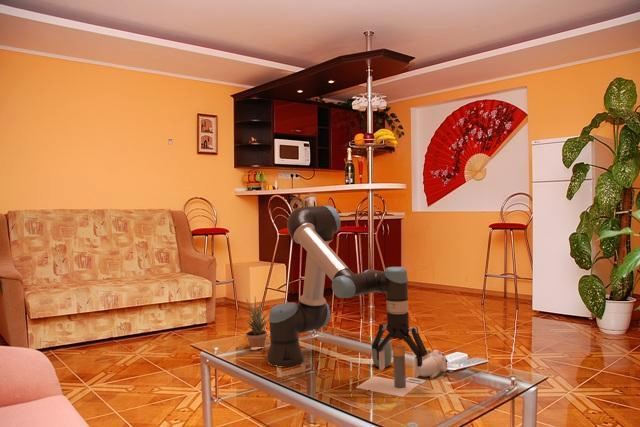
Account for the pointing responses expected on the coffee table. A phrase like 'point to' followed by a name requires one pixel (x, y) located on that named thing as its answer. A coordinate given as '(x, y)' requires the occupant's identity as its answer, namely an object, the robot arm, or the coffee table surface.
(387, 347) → the cup
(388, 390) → the paper
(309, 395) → the coffee table surface
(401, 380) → the marker
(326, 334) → the coffee table surface
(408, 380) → the plate
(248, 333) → the potted plant
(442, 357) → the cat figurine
